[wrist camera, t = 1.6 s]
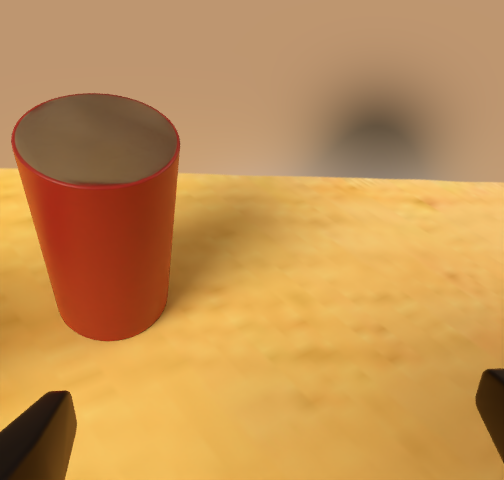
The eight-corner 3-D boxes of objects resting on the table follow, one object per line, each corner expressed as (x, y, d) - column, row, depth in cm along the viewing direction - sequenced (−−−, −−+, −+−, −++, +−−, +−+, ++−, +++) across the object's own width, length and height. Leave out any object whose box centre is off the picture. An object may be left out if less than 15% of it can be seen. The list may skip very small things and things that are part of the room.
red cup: (106, 363, 23) (85, 215, 14) (34, 293, 25) (-26, 123, 16) (188, 294, 27) (211, 145, 18) (120, 238, 29) (111, 78, 20)
